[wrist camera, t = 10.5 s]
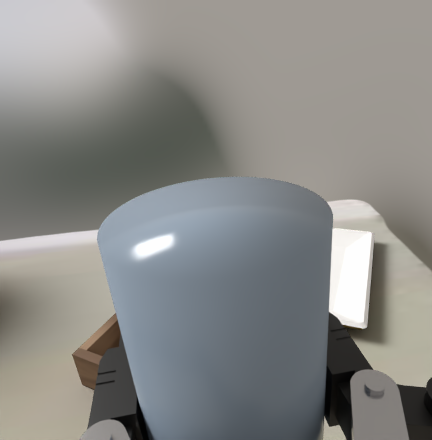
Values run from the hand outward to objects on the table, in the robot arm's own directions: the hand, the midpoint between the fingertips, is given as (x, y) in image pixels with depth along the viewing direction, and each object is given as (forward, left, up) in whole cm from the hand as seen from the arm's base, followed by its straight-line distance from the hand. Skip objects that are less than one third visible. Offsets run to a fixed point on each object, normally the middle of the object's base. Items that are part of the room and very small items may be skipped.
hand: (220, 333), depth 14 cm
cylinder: (-2, -2, -9) cm, 9 cm away
